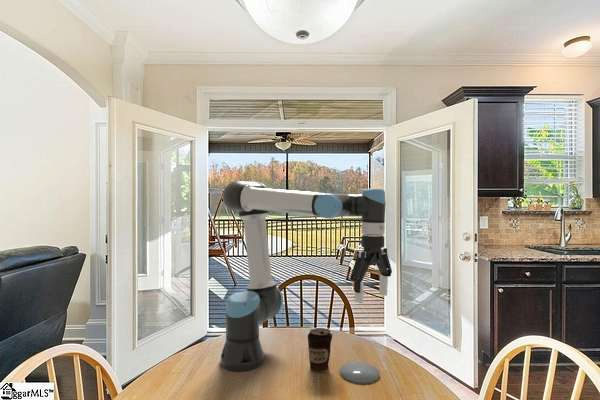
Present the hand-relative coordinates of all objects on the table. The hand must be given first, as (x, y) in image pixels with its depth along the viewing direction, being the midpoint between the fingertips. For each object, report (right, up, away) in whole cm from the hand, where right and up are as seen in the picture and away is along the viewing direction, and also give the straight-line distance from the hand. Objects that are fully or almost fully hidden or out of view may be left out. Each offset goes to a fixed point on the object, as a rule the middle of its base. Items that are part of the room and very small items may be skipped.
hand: (371, 298), depth 117 cm
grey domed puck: (-4, -25, -1) cm, 25 cm away
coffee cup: (-17, -25, +2) cm, 30 cm away
